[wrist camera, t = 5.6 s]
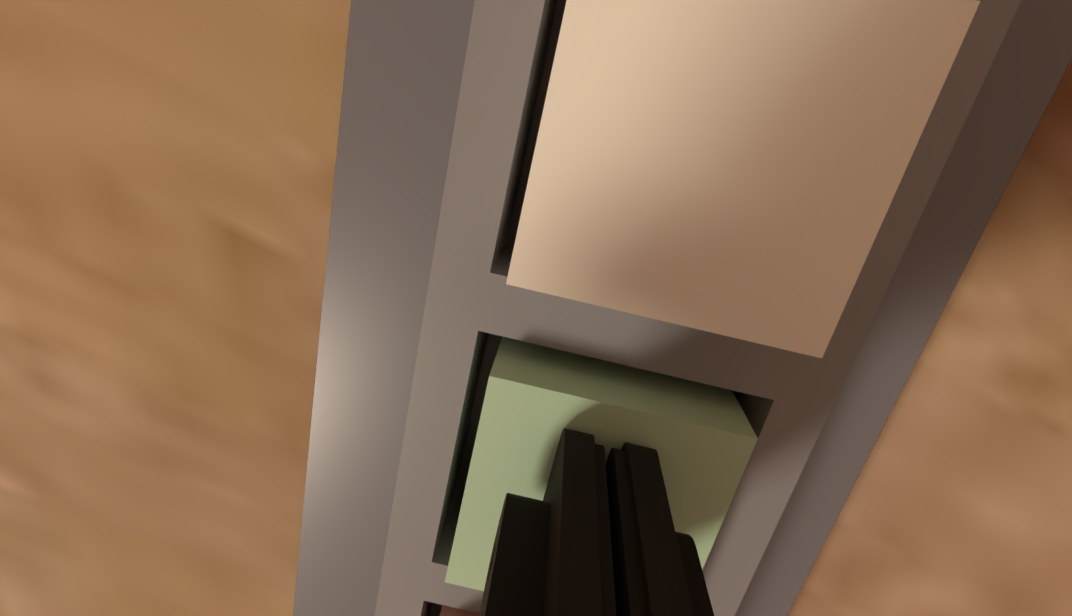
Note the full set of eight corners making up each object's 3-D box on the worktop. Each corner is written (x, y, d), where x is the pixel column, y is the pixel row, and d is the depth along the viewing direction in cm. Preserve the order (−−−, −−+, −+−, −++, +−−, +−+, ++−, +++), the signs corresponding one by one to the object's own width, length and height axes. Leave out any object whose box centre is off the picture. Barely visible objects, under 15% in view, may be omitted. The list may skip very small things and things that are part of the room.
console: (1039, 4, 11) (1274, -47, 7) (700, 714, 18) (732, 871, 15) (395, -150, 11) (300, -282, 7) (310, 624, 18) (240, 758, 15)
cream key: (852, 33, 9) (980, 1, 6) (755, 289, 11) (822, 358, 8) (584, -30, 9) (586, -94, 6) (526, 234, 11) (505, 284, 8)
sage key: (715, 358, 12) (758, 438, 9) (654, 521, 14) (674, 635, 11) (510, 310, 12) (489, 376, 9) (473, 479, 14) (444, 582, 11)
